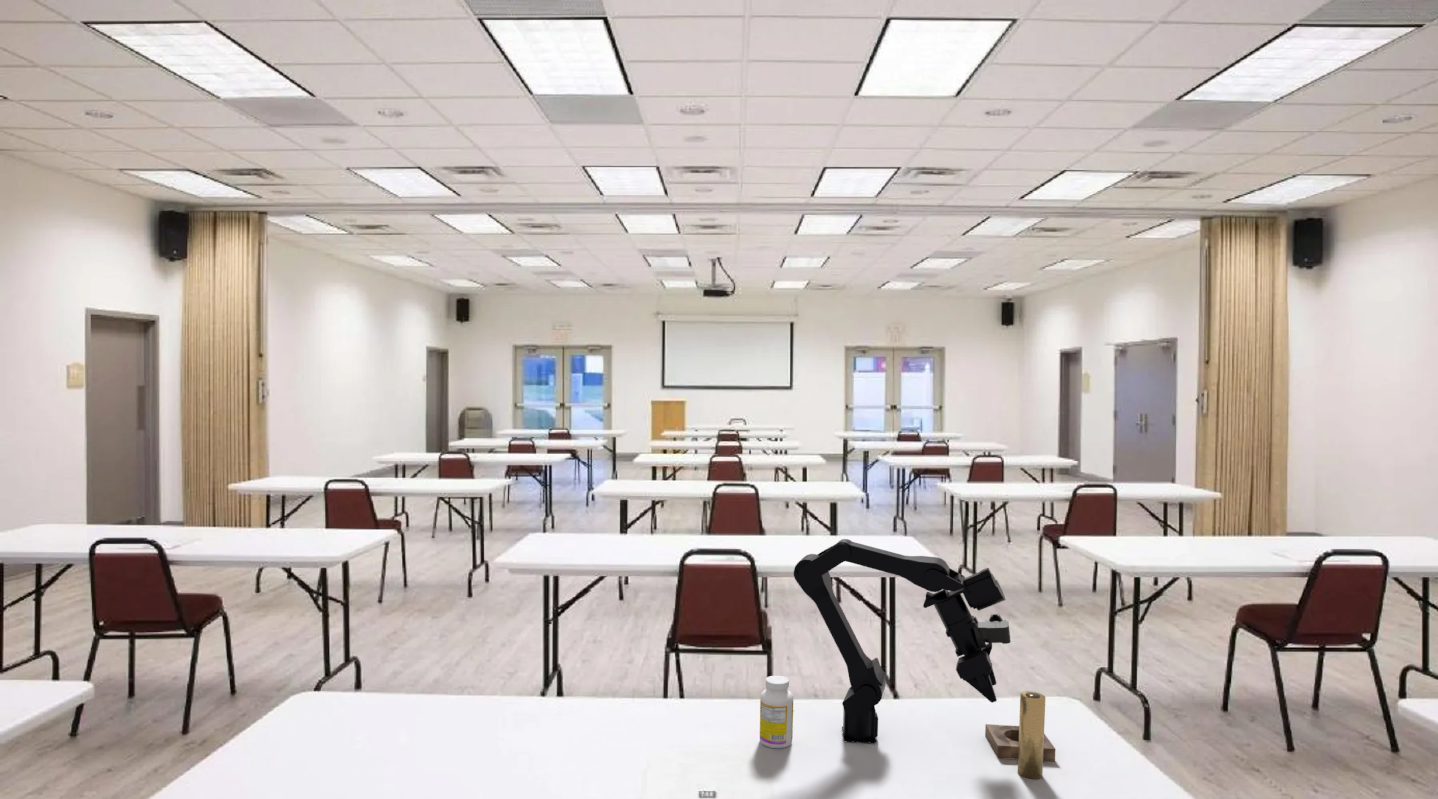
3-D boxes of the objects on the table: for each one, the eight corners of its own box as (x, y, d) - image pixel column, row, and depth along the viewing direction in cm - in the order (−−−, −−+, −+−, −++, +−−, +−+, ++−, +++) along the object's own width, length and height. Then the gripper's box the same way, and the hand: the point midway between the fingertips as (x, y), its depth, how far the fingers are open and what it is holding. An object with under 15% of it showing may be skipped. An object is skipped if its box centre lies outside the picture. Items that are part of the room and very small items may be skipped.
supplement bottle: (774, 732, 172) (776, 671, 171) (799, 743, 167) (800, 680, 167) (752, 741, 167) (754, 678, 167) (777, 753, 162) (778, 688, 162)
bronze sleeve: (1021, 779, 154) (1024, 698, 154) (1014, 768, 159) (1017, 689, 158) (1045, 780, 154) (1048, 700, 154) (1038, 769, 158) (1041, 691, 158)
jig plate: (997, 758, 163) (997, 745, 163) (985, 735, 173) (985, 724, 173) (1054, 761, 162) (1055, 748, 162) (1039, 739, 172) (1039, 727, 172)
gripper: (995, 616, 153) (1036, 696, 151) (995, 592, 171) (1031, 663, 169) (939, 638, 156) (978, 716, 154) (945, 612, 174) (980, 682, 172)
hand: (994, 693), depth 162 cm, fingers open, 9 cm apart
